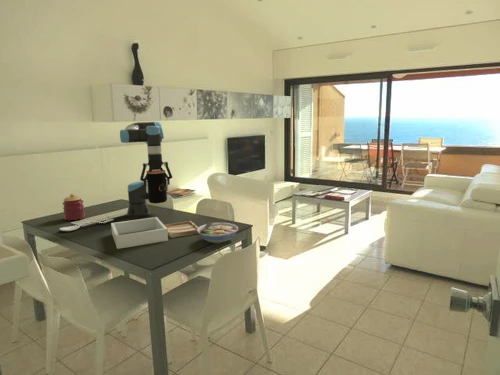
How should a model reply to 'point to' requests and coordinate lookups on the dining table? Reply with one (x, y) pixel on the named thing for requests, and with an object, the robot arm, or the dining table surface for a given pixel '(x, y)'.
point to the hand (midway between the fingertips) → (157, 191)
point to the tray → (181, 229)
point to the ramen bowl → (217, 231)
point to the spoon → (82, 224)
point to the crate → (138, 237)
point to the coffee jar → (157, 186)
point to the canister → (73, 208)
